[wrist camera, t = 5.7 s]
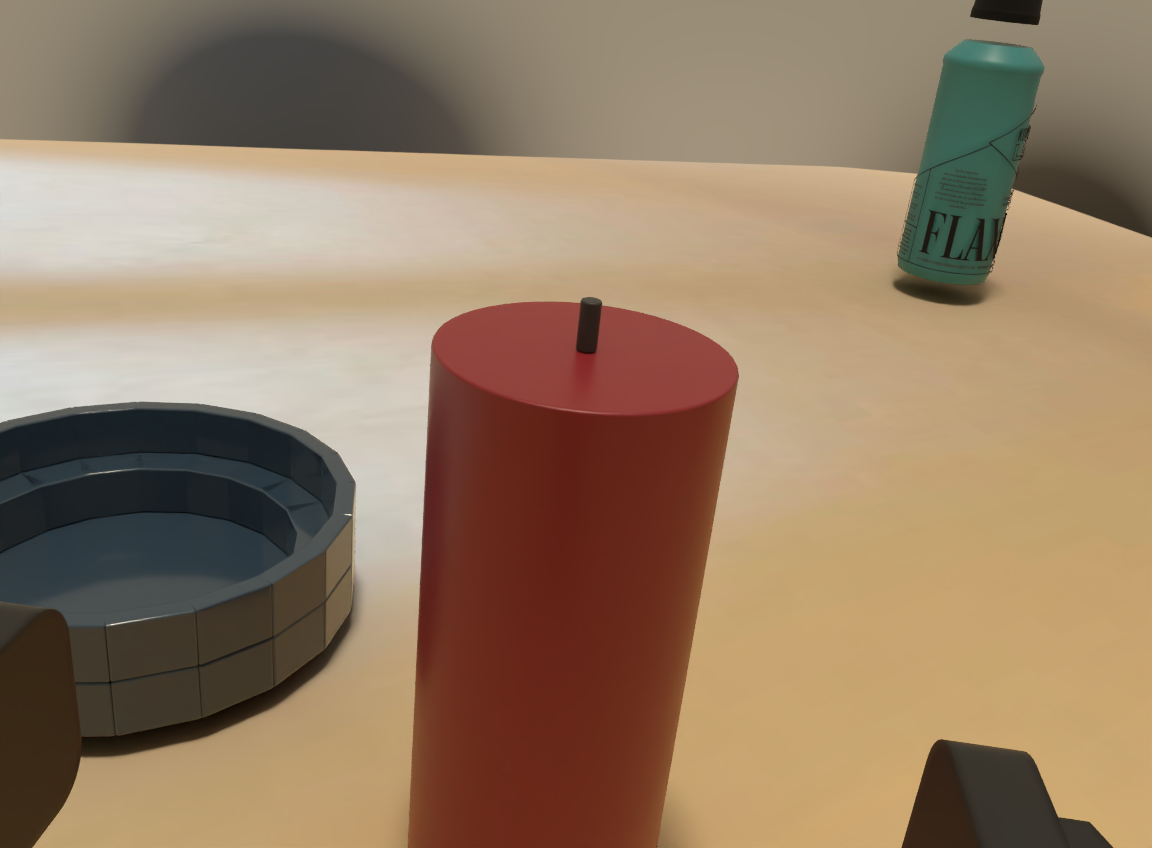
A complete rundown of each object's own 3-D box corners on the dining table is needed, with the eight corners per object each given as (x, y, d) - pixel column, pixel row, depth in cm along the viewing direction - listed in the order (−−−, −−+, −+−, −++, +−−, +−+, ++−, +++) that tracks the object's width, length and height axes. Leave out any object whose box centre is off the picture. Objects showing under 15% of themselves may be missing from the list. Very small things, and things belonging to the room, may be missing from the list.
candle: (358, 843, 26) (370, 277, 20) (538, 742, 29) (592, 242, 24) (518, 1015, 22) (590, 383, 16) (700, 874, 26) (810, 322, 20)
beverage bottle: (894, 298, 73) (968, -20, 64) (884, 272, 79) (950, -22, 70) (993, 312, 72) (1081, -8, 64) (975, 285, 78) (1053, -11, 70)
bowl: (-174, 578, 33) (-199, 461, 31) (228, 470, 42) (225, 374, 40) (-27, 838, 25) (-51, 698, 23) (436, 635, 33) (442, 523, 32)
